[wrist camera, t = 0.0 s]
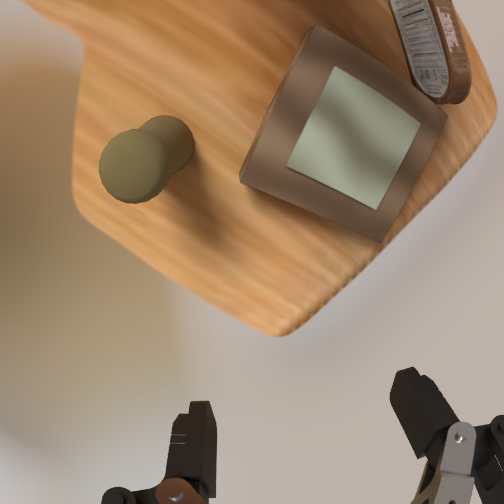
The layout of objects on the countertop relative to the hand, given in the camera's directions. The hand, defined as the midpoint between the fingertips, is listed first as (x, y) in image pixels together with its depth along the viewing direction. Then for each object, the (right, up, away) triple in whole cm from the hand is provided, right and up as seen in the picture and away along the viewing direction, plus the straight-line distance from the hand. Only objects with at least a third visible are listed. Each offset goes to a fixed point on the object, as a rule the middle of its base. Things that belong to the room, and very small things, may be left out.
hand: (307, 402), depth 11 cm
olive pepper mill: (-11, +17, +16) cm, 25 cm away
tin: (+14, +29, +11) cm, 34 cm away
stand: (+7, +18, +16) cm, 25 cm away
